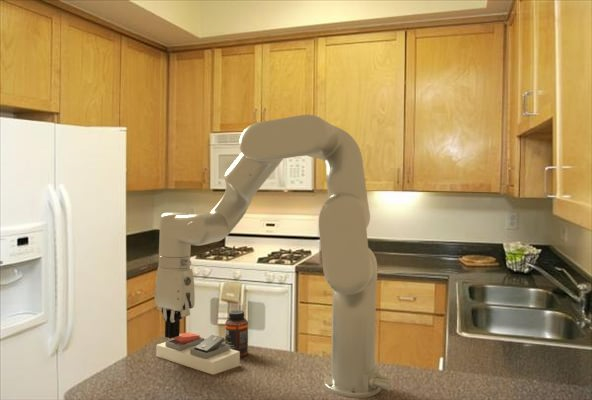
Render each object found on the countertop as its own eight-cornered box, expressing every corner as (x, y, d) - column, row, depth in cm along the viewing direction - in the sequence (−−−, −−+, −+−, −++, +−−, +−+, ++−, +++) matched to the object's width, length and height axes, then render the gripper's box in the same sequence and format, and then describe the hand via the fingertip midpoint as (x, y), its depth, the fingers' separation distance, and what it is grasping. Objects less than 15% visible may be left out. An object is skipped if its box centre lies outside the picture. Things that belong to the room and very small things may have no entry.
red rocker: (198, 343, 118) (199, 335, 118) (180, 346, 113) (181, 337, 113) (188, 340, 120) (189, 332, 120) (169, 343, 115) (171, 334, 115)
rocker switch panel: (239, 367, 112) (239, 346, 112) (212, 379, 105) (212, 357, 105) (183, 350, 124) (184, 331, 123) (156, 360, 116) (156, 340, 116)
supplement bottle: (251, 351, 123) (251, 309, 123) (242, 359, 118) (243, 315, 117) (230, 349, 125) (231, 308, 125) (221, 357, 119) (221, 313, 119)
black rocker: (225, 345, 113) (223, 337, 112) (208, 358, 108) (206, 350, 108) (213, 342, 115) (212, 334, 115) (196, 355, 110) (194, 346, 110)
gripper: (207, 264, 112) (204, 339, 113) (166, 257, 121) (164, 327, 121) (183, 268, 106) (181, 347, 107) (142, 260, 115) (140, 333, 115)
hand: (172, 336), depth 114 cm, fingers closed
